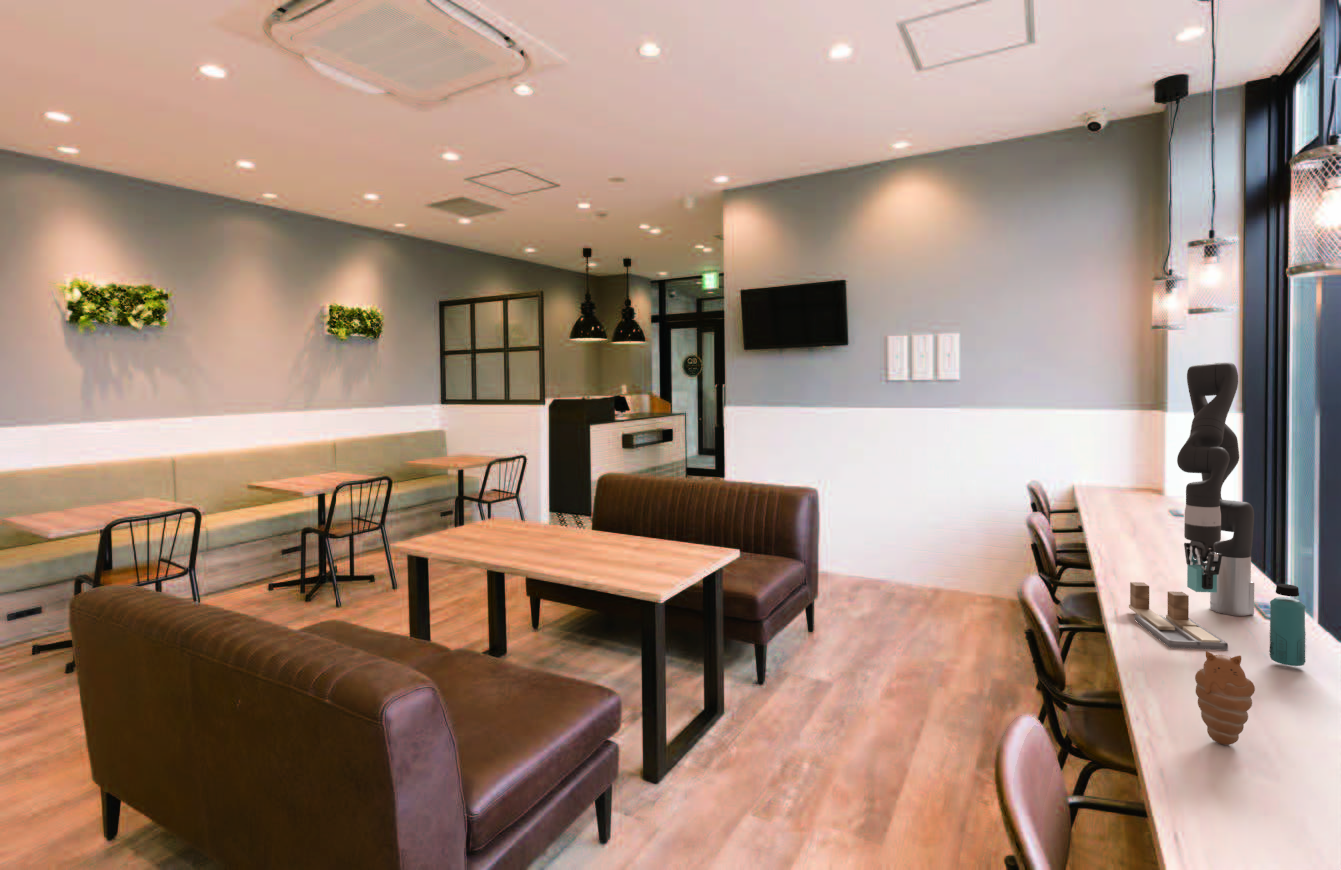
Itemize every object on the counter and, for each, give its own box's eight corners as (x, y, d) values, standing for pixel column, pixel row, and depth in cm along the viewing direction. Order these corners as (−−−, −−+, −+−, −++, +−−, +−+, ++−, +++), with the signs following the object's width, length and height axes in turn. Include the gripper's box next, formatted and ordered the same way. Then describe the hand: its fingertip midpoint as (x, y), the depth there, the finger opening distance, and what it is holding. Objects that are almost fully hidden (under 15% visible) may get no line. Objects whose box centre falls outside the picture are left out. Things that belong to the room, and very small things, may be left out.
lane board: (1185, 622, 192) (1185, 614, 192) (1227, 650, 172) (1227, 641, 172) (1134, 620, 195) (1134, 612, 195) (1169, 647, 175) (1169, 639, 175)
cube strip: (1143, 608, 201) (1144, 582, 201) (1174, 630, 183) (1175, 601, 183) (1128, 607, 202) (1128, 581, 202) (1158, 629, 184) (1158, 601, 184)
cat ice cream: (1197, 748, 128) (1197, 656, 127) (1191, 729, 135) (1191, 642, 133) (1257, 759, 123) (1258, 664, 122) (1248, 739, 130) (1249, 649, 129)
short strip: (1181, 618, 191) (1182, 591, 191) (1196, 628, 184) (1196, 600, 183) (1165, 618, 192) (1165, 590, 192) (1179, 627, 185) (1179, 599, 184)
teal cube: (1207, 587, 178) (1207, 565, 178) (1216, 592, 174) (1217, 569, 173) (1187, 586, 179) (1187, 564, 179) (1196, 591, 175) (1196, 569, 175)
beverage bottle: (1312, 673, 157) (1314, 589, 156) (1280, 672, 158) (1281, 589, 157) (1293, 662, 163) (1294, 581, 162) (1261, 661, 165) (1262, 581, 163)
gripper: (1235, 527, 168) (1234, 594, 169) (1204, 517, 181) (1203, 578, 183) (1200, 527, 169) (1199, 593, 170) (1172, 516, 183) (1172, 578, 184)
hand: (1201, 585), depth 177 cm, fingers closed on teal cube, 4 cm apart
